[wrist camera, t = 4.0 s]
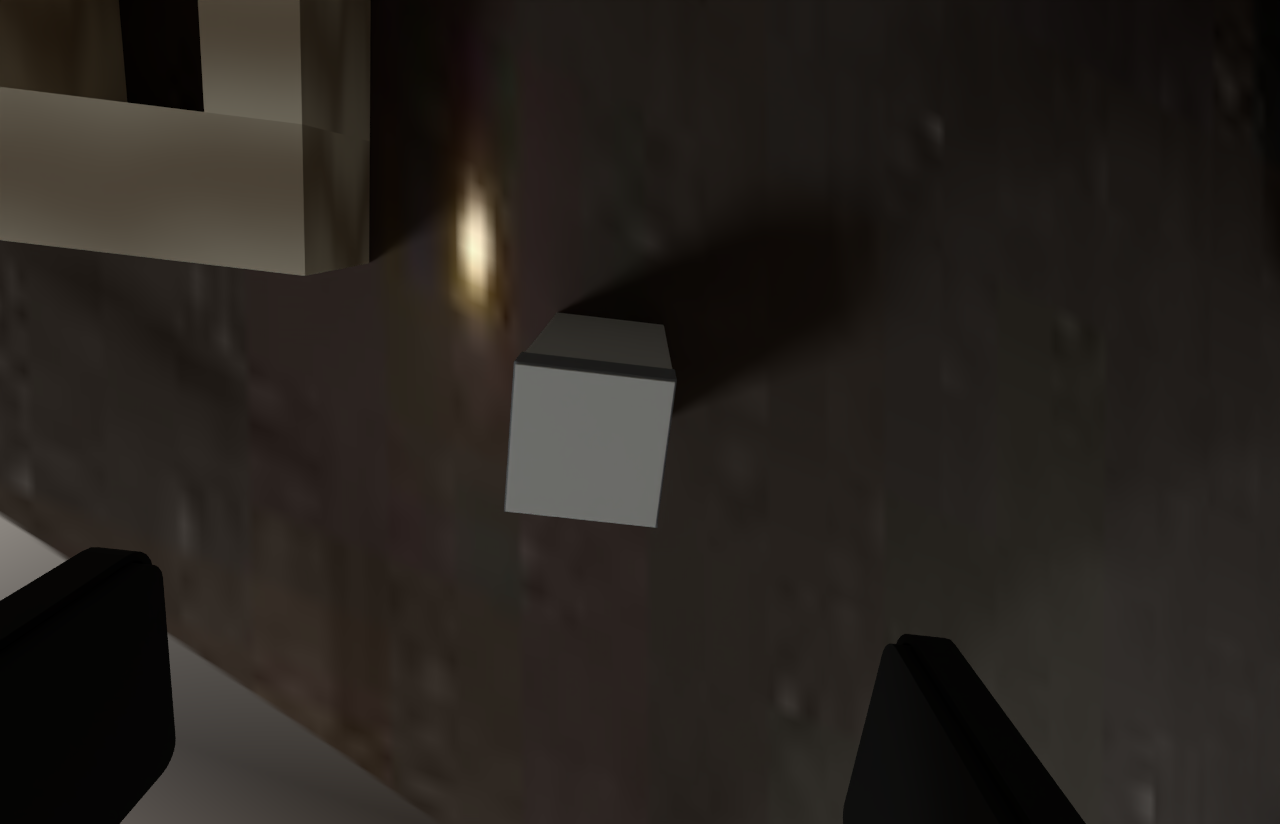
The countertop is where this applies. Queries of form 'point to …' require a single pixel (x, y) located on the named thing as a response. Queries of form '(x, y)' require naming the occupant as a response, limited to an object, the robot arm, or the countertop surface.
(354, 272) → the countertop surface
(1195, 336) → the countertop surface
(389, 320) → the countertop surface
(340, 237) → the socket block
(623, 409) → the plug
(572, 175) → the countertop surface
